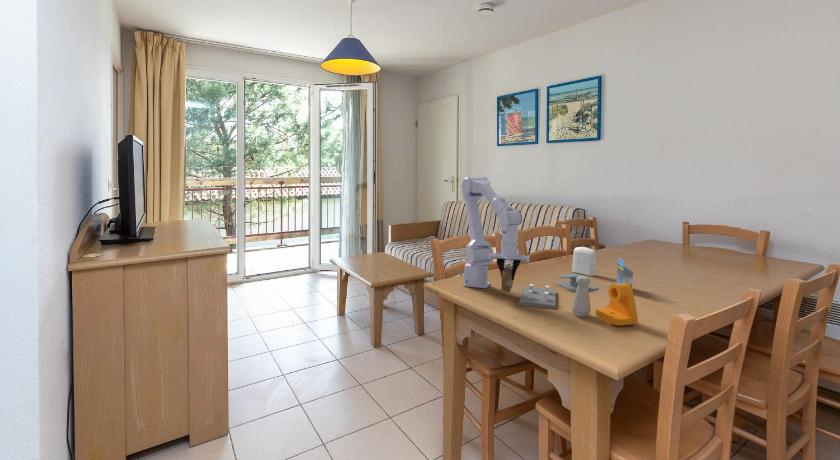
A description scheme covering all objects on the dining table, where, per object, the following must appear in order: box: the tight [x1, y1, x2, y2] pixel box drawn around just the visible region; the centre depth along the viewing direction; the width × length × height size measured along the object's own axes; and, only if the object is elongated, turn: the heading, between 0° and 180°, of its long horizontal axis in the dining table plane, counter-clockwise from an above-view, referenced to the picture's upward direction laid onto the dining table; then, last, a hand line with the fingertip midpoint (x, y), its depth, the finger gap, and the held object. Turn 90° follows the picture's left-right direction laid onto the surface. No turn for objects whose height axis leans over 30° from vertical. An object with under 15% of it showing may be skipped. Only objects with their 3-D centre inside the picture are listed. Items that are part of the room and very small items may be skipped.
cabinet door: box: [500, 264, 514, 293], centre depth 155 cm, size 4×12×7 cm, turn 162°
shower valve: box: [554, 273, 599, 293], centre depth 171 cm, size 12×6×15 cm
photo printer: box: [571, 246, 597, 277], centre depth 192 cm, size 10×4×12 cm, turn 36°
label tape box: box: [616, 257, 634, 288], centre depth 167 cm, size 9×4×12 cm, turn 168°
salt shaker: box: [571, 275, 591, 318], centre depth 137 cm, size 6×6×13 cm
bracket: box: [595, 283, 639, 326], centre depth 132 cm, size 11×7×12 cm, turn 15°
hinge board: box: [519, 283, 557, 309], centre depth 155 cm, size 12×20×4 cm, turn 162°
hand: (507, 279), depth 155 cm, fingers closed on cabinet door, 3 cm apart
